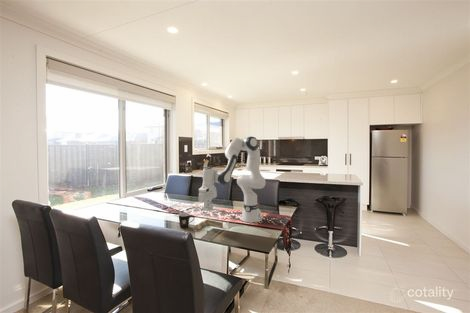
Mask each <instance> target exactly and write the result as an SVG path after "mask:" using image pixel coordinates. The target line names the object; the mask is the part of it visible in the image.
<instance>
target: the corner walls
mask: <svg viewBox="0 0 470 313" xmlns="http://www.w3.org/2000/svg"><path fill="white" fill-rule="evenodd" d="M207 226H211V227H216V228H221V229H222V228H223V227H224V223H223V222H222V221H217V220H213V219H207V218H206V219H205V220H202V221H200V222H199V223H197V224H195V225H193V231H194V232H197V231H199V230H200V229H203V228H204V227H207Z"/></svg>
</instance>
